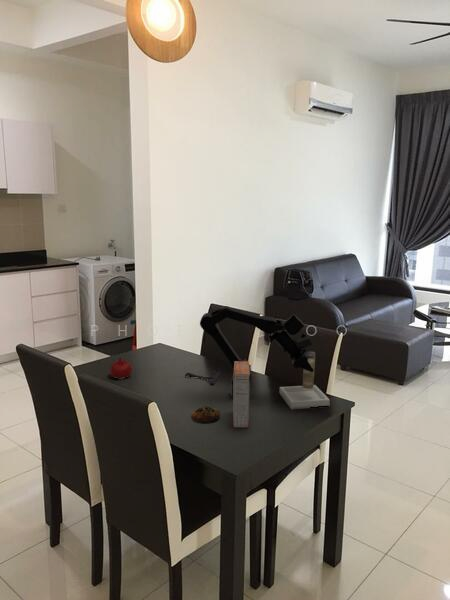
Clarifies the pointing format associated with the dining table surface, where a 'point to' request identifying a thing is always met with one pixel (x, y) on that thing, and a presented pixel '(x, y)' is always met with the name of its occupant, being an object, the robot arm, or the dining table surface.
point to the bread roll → (206, 415)
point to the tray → (303, 397)
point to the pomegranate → (120, 369)
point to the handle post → (307, 375)
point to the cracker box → (241, 394)
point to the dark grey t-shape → (206, 377)
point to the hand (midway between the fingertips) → (312, 369)
